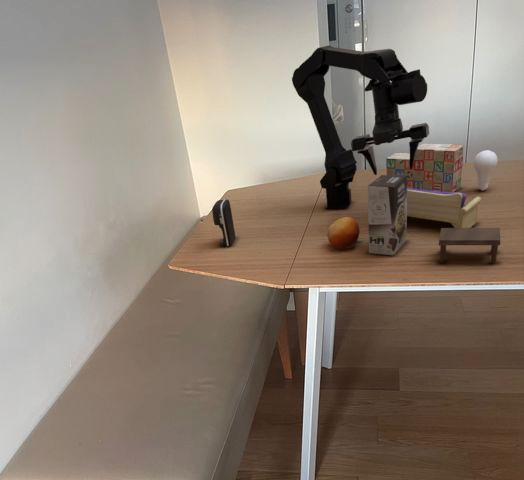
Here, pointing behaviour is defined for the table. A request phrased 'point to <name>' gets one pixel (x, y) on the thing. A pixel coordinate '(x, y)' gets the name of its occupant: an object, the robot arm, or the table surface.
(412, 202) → the toy sofa
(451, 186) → the stack of blocks
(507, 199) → the table surface
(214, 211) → the battery charger
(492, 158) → the lightbulb
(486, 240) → the coffee table
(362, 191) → the table surface
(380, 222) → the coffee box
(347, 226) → the fruit
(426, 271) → the table surface
